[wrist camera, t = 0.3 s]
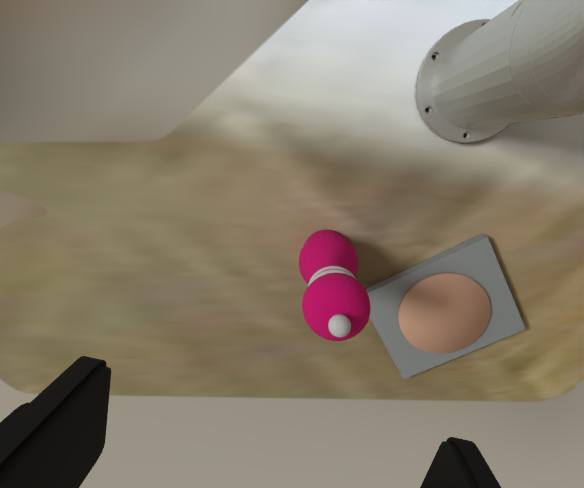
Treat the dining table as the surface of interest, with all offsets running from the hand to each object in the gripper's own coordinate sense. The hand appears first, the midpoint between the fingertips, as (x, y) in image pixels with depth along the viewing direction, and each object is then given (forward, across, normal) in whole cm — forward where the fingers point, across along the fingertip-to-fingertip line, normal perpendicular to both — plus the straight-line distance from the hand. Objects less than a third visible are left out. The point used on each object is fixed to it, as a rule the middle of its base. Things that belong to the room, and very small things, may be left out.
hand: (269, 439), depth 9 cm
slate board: (+35, -23, +9) cm, 42 cm away
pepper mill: (+35, -5, +4) cm, 36 cm away
